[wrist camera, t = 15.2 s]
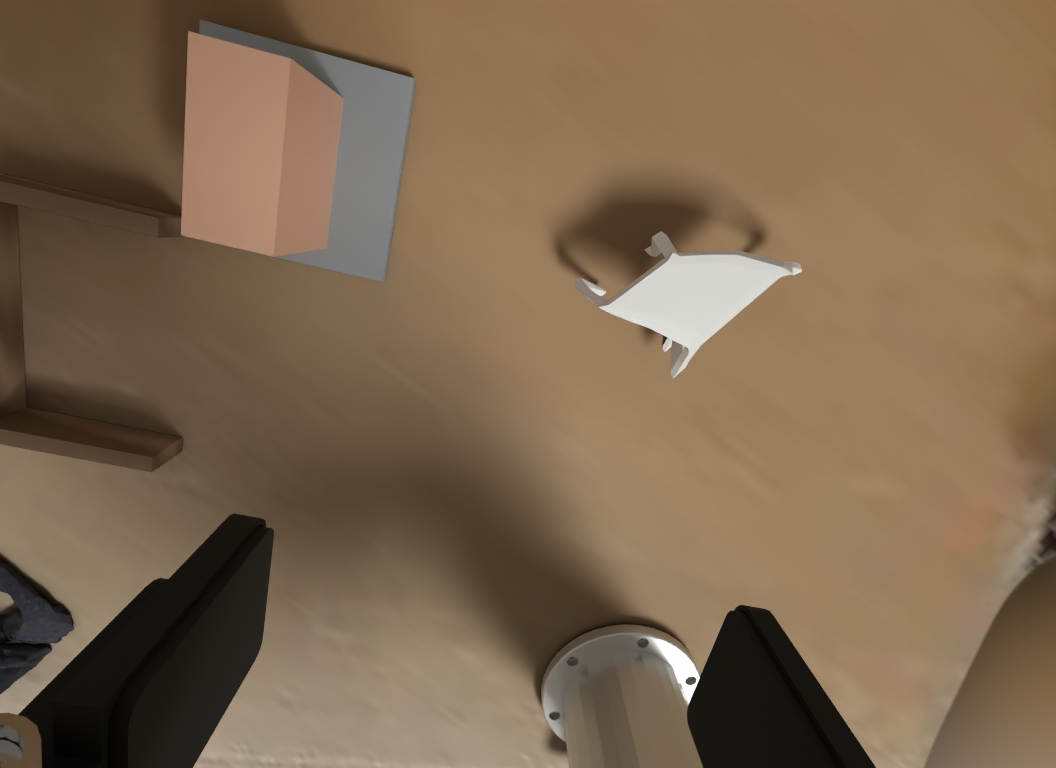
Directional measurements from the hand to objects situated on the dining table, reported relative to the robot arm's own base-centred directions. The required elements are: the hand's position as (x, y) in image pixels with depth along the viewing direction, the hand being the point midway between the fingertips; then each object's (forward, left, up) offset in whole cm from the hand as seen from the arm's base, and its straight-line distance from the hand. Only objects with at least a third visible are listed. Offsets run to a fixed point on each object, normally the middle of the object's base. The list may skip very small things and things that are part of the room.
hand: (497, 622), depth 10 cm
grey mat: (+8, +14, -23) cm, 28 cm away
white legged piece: (+6, -10, -24) cm, 26 cm away
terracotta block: (+8, +13, -23) cm, 27 cm away
